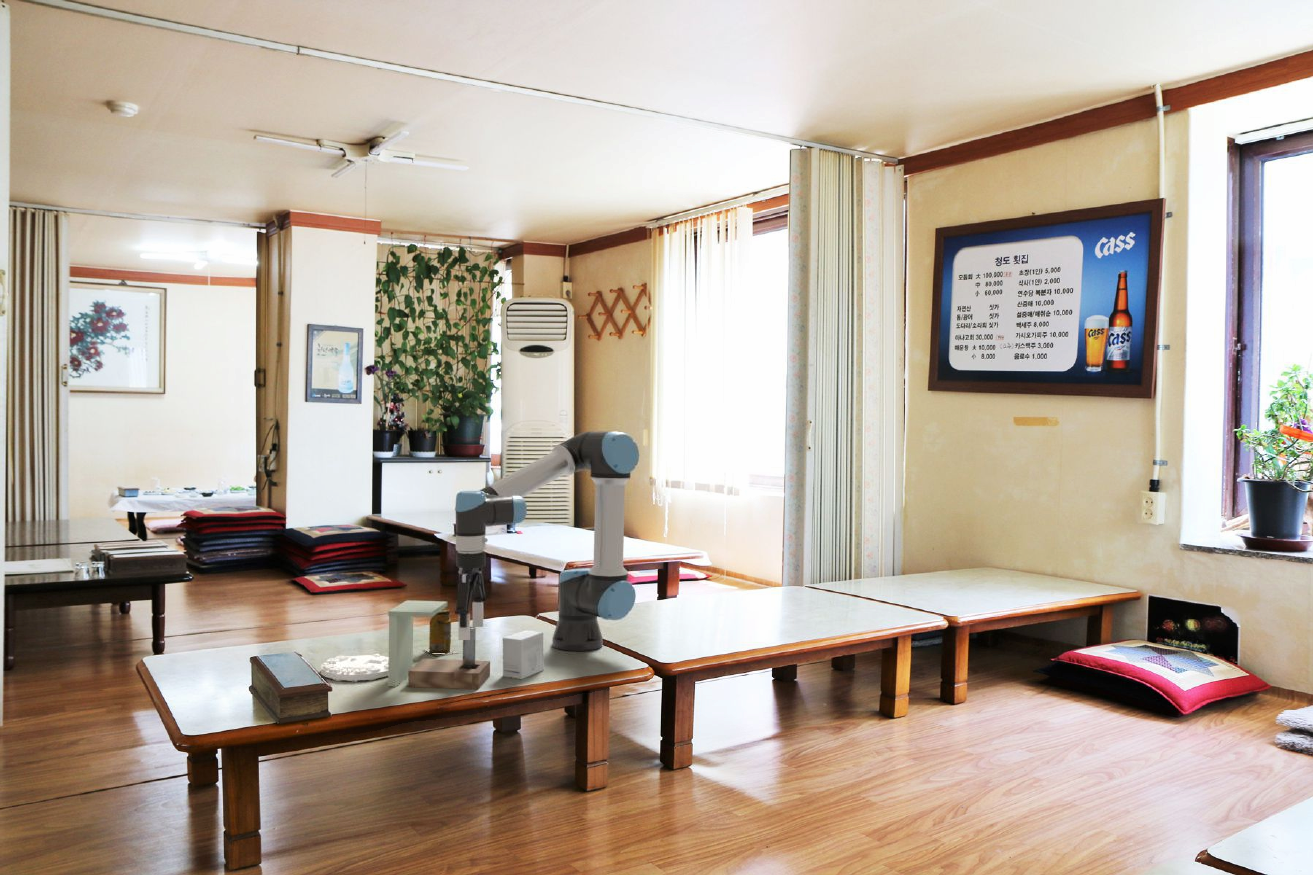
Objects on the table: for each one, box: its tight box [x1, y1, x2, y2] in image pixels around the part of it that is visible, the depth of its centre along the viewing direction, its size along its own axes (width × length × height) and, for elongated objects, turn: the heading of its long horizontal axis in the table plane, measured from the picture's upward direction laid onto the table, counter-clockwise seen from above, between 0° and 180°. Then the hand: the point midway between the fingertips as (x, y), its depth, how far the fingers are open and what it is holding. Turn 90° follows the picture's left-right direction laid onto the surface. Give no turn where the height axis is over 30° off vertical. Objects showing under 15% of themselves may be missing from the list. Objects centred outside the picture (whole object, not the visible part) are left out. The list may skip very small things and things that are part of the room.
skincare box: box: [502, 629, 545, 680], centre depth 251 cm, size 10×6×10 cm, turn 152°
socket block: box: [407, 658, 491, 690], centre depth 242 cm, size 18×12×4 cm, turn 86°
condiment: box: [424, 608, 460, 657], centre depth 272 cm, size 7×8×12 cm
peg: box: [462, 626, 477, 669], centre depth 242 cm, size 3×3×14 cm
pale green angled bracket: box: [387, 600, 448, 688], centre depth 243 cm, size 11×14×19 cm
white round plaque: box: [320, 653, 389, 683], centre depth 250 cm, size 20×20×3 cm
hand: (471, 633), depth 242 cm, fingers open, 13 cm apart
